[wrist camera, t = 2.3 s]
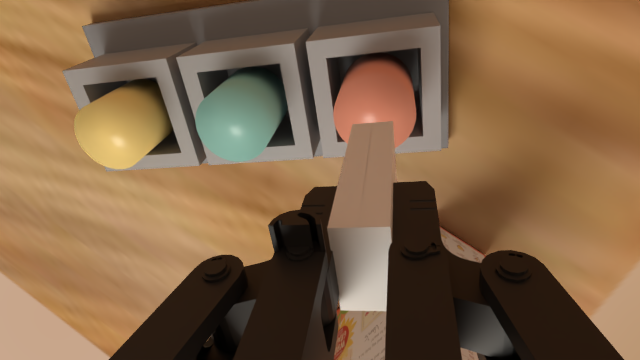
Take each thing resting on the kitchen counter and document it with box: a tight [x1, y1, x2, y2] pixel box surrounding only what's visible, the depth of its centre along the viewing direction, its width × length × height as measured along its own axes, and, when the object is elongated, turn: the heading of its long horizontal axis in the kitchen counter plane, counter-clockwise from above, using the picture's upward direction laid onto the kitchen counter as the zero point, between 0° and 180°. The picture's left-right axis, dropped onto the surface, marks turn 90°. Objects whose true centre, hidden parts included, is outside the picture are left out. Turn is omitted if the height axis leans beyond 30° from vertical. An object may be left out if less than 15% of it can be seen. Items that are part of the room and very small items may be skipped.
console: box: [62, 0, 449, 171], centre depth 25 cm, size 22×10×5 cm, turn 99°
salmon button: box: [333, 52, 416, 148], centre depth 21 cm, size 4×4×4 cm
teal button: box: [195, 66, 288, 162], centre depth 23 cm, size 4×4×4 cm
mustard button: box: [74, 79, 174, 169], centre depth 24 cm, size 4×4×4 cm
